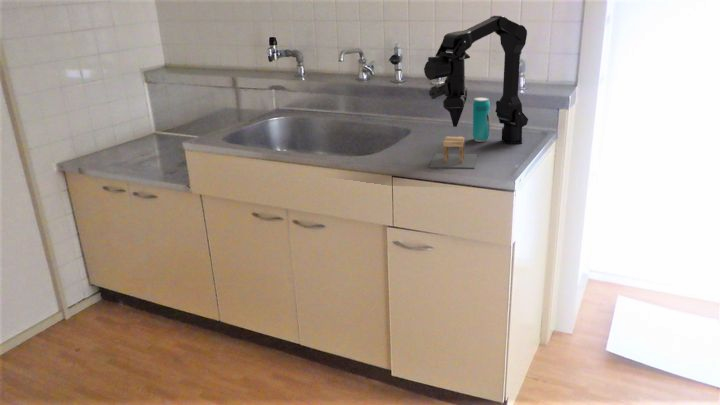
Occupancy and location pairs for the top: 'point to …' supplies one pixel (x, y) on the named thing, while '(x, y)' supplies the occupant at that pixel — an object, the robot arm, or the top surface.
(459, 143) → the stool
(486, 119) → the beverage can
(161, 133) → the top surface
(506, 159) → the top surface
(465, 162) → the mat
